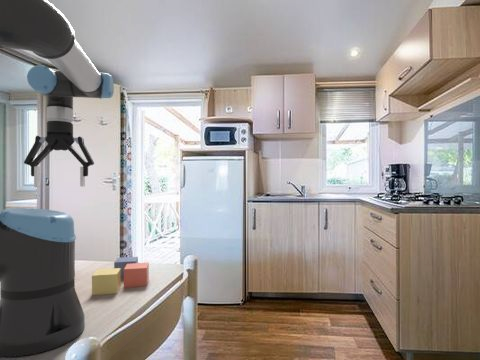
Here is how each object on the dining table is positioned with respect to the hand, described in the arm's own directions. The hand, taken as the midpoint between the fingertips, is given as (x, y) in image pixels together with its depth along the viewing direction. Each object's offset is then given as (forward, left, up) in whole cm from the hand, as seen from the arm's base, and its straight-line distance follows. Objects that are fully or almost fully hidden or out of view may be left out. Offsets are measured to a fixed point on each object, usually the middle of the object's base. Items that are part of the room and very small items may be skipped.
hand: (60, 186), depth 104 cm
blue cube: (-11, -22, -27) cm, 37 cm away
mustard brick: (-24, -19, -27) cm, 41 cm away
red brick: (-20, -26, -27) cm, 43 cm away
